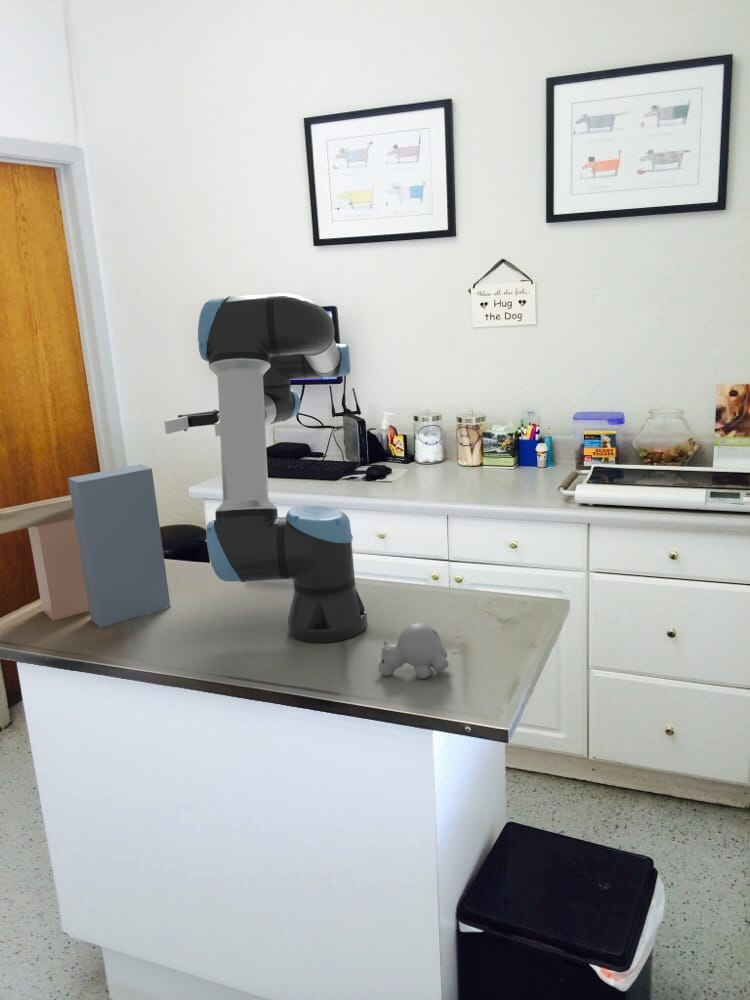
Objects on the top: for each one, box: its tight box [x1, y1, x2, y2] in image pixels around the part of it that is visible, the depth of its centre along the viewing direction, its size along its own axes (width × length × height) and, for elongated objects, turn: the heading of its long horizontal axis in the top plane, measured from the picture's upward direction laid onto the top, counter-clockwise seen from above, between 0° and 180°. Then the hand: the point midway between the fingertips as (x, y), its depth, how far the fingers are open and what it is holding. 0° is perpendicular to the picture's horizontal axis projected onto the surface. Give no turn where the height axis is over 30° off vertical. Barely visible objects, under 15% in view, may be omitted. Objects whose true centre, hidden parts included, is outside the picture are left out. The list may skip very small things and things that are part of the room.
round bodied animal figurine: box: [373, 622, 449, 680], centre depth 144 cm, size 7×12×8 cm, turn 85°
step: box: [27, 518, 89, 622], centre depth 182 cm, size 8×10×20 cm
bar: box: [0, 494, 74, 535], centre depth 179 cm, size 4×27×4 cm, turn 126°
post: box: [67, 463, 171, 628], centre depth 176 cm, size 6×15×30 cm, turn 127°
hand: (190, 428), depth 180 cm, fingers open, 13 cm apart
